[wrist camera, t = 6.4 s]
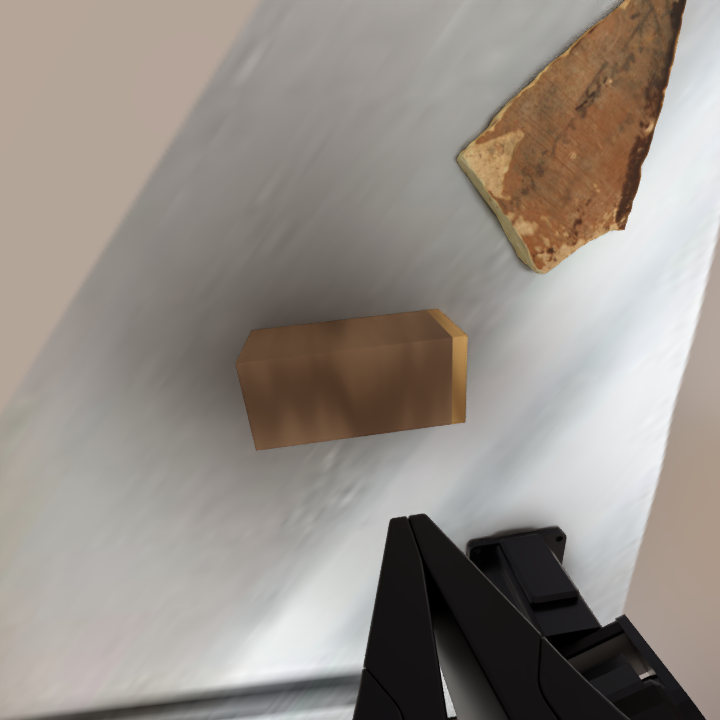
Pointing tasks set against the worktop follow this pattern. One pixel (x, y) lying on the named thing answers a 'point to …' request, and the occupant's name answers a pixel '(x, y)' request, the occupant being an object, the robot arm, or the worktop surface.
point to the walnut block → (353, 378)
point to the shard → (578, 135)
